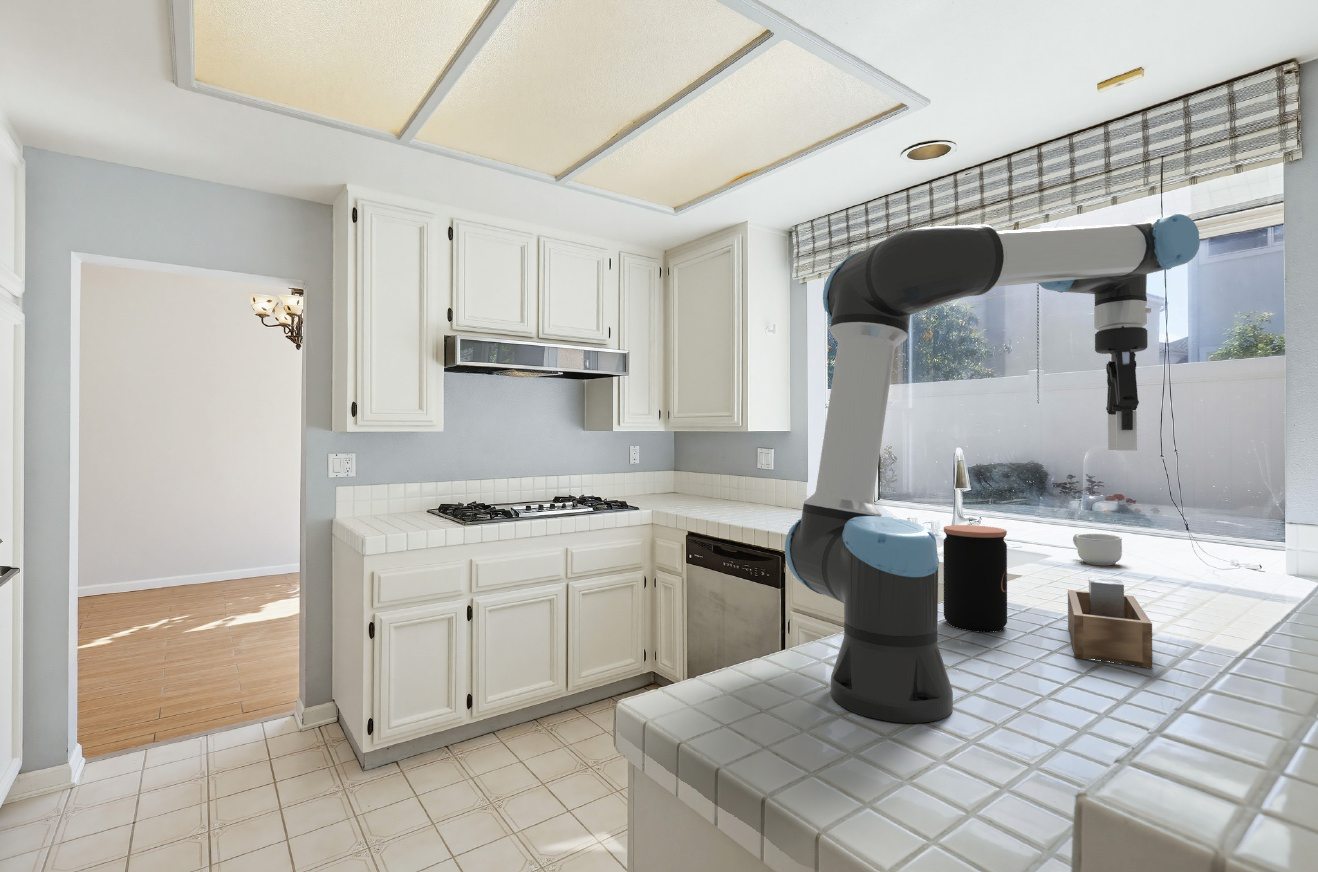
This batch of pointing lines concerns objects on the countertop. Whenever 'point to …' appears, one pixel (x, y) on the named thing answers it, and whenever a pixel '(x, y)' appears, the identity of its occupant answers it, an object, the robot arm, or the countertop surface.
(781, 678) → the countertop surface
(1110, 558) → the teacup
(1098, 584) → the steel bar
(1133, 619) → the trough
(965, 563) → the coffee jar
